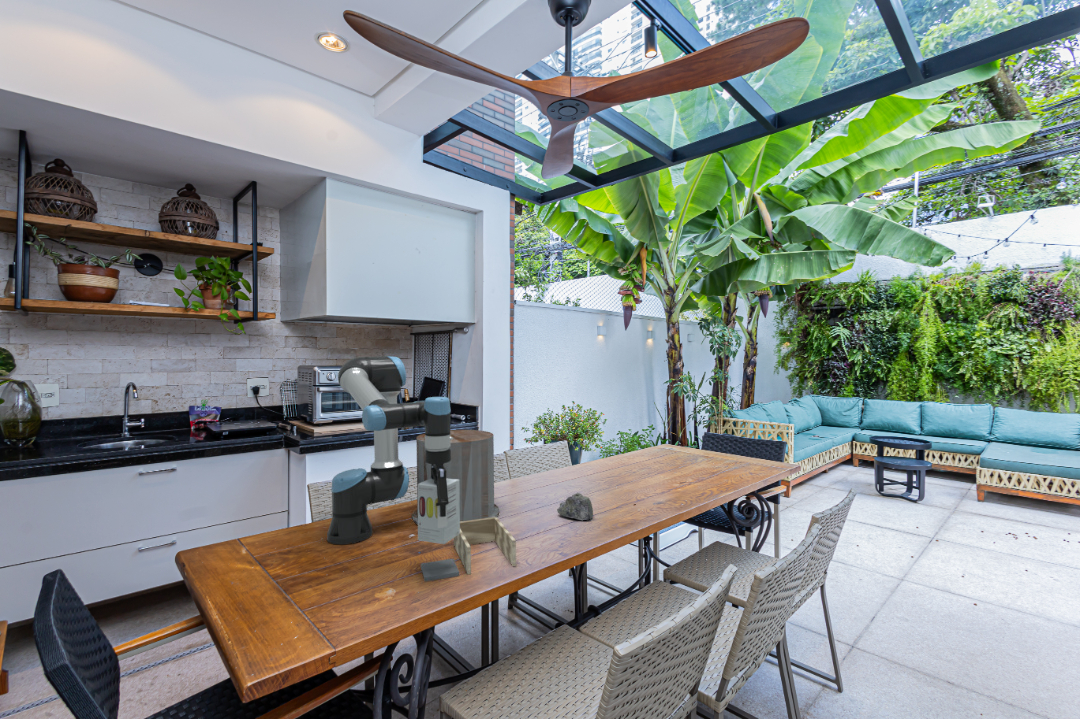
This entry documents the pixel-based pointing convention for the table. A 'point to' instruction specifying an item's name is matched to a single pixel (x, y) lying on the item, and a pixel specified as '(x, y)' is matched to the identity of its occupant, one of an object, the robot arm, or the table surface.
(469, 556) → the shelf bay
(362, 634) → the table surface
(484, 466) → the grey streaked cylinder
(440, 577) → the plate
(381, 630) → the table surface
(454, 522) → the supplement box
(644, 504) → the table surface
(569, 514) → the mineral rock
